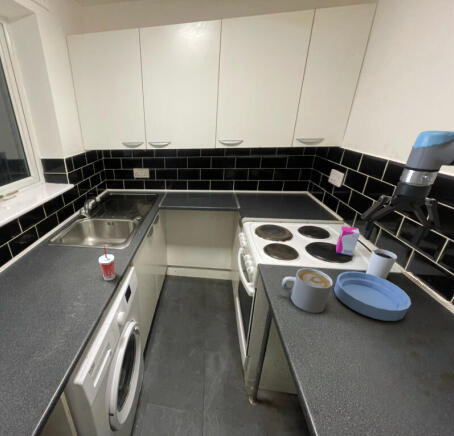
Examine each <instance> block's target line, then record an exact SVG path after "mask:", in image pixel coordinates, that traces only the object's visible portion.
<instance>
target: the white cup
mask: <svg viewBox="0 0 454 436" xmlns="http://www.w3.org/2000/svg"><path fill="white" fill-rule="evenodd" d="M397 259H398V255H396V253H394V252H392V251H389V250H386V249H383V248H374V249H373V250H372V252H371V255H370V259H369V262H368V264H367V267H366V271H365V273H367V274H371V275H375V276H378V277H380V278H382V279H385V280H387V278H388V276H389V274H390V273H391V270H392V269H393V267H394V266H395V265H394V264H395V263H396V260H397Z"/></svg>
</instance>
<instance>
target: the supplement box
mask: <svg viewBox="0 0 454 436" xmlns="http://www.w3.org/2000/svg"><path fill="white" fill-rule="evenodd" d="M360 234H361V232H360V231H359V228H358V227H354V226H353V227H352V226H347V225H342V226H341V229H340V232H339V234H338V235H339V236H338V238H337V243H336V244H335V252H336V253H335V254H339V255H344V256H348V257H353V255H354V252H355V249H356V246H357V243H358V240H359V237H360Z"/></svg>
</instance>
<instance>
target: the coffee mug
mask: <svg viewBox="0 0 454 436" xmlns="http://www.w3.org/2000/svg"><path fill="white" fill-rule="evenodd" d="M288 283H292V286H290V287H289V286H287V284H288ZM333 283H334V282H333V280H332V278H331V277H330V276H329V275H328V274H326V273H325V272H323V271H321V270H318V269H314V268H309V267H303V268H300V269H298V270H297V271H296V274H295V276H285V277H284V278H283V279H282V282H281V288H282V289H283V291H285V292H286V293H288V294H289V295H290V299H291V301H292V303H293V304H294V305H295V306H296V307H298V308H299V309H301V310H302V311H305V312H308V313H313V314H314V313H315V314H316V313H322V312H323V311H325V309H326V306H327V303H328V299H329V296H330V293H331V290H332V287H333Z"/></svg>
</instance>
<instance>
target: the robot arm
mask: <svg viewBox="0 0 454 436" xmlns="http://www.w3.org/2000/svg"><path fill="white" fill-rule="evenodd" d="M442 166H445V167H454V131H453V130H452V131H451V130H424V131H421V132H420V133H419V134H418V135H417V137H416V139H415V140H414V143H413V145H412V146H411V150H410V153H409V155H408V157H407V160H406V162H405V165H404V168H403V170H402V172H401V174H400V177H399V182H397V184H396V186H395V189H394V193H393V195H392V196H389V195H385V194H380V196H379V198H378V200H376V202H375V203H373V204H372V205H371V206H370V207H369V208H367V210H366V211H364V212H363V213H362V214H361V215H360V218H361V219H362V220H363V221H364V222H365V223H364V225H363V230H364V234H363V238H364V239H365V240H366V241H369V240H370V238H371V236H372V233H373V231H374V228H375V225H376V223H375V222H377V221H378V220H380V219H382V218H383V217H385V216H387V215H389V214H390V213H393V212H396V211H398V212H409V213H411V212H413V213H414V214H415V216H416V218H417V219H418V221H419V222H420V224H421V225H418V226H417V228H416V231H415V232H414V234H413V237H412V238H411V241H410V243H411V244H413V246H415V247H419V246H420V243H421V241H422V240H423V238H425V237H427V235H428V234H429V232H430V231H433V230H434V229H439V228H441V222H440V218H439V213H438V204H439V200H438V199H435V198H433V197H429V198H427V197H428V196H429V194H430V193H431V192H430V191H431V189H432V185H433V184H434V182H435V180H436V178H437V176H438V175H439V172H440V171H441V168H442ZM389 202H390V203H389ZM386 203H388V204H386ZM424 205H425V206H426V209H427V214H428V218H427V217H426V215H425V214H424V212H423V209H422V208H421V206H424ZM384 206H385V207H384ZM428 219H429V220H428Z"/></svg>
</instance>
